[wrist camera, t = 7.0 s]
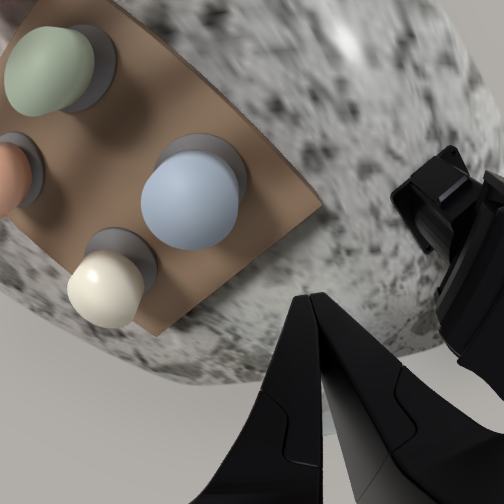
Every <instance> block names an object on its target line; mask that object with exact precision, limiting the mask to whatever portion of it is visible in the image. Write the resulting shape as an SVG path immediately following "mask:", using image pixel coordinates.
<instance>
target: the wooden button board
mask: <svg viewBox="0 0 504 504" xmlns="http://www.w3.org/2000/svg"><path fill="white" fill-rule="evenodd" d="M46 26H48V27H58V28H65V29H72V30H76V31H78V32H80V33H82V34H83V35H84V36H85V37H86V38H87V39H88V40H89V42H90V44H91V46H92V49H93V52H94V71H93V75H92V78H91V81H90V83H89V85H88V87H87V89H86V91H85V92H84V93H83V95H82V96H81V97H80V98H79V99H78V100H77V101H76V102H74V103H73V104H72V105H70V106H68V107H66V108H63V109H60V110H57V111H53V112H50V113H47V114H44V115H41V116H36V117H30V116H25V115H23V114H21V113H19V112H18V111H16V110H15V109H14V108H13V106H12V105H11V104H10V102H9V100H8V98H7V95H6V92H5V86H4V74H5V68H6V64H7V61H8V58H9V56H10V54H11V52H12V50H13V48H14V47H15V45H16V44H17V43H18V42H19V40H20V39H21V38H22V37H23V36H25V35H26V34H27V33H29V32H30V31H32V30H34V29H37V28H40V27H46ZM1 142H11V143H14V144H15V145H17V146H18V147H19V148H20V149H21V150H22V151H23V152H24V154H25V155H26V157H27V159H28V161H29V164H30V167H31V172H32V186H31V190H30V193H29V195H28V197H27V198H26V200H25V201H24V202H23V203H21V204H20V205H19V206H18V207H16V208H15V209H14V210H13V211H11V212H10V213H9V214H8V215H7V216H6V217H7V218H9V219H10V220H11V221H12V222H13V223H14V224H15V225H16V226H17V227H18V228H19V229H20V230H21V231H22V232H23V233H24V234H25V235H26V236H28V237H29V238H30V239H31V240H32V241H33V242H34V243H35V244H36V245H38V246H39V247H40V248H41V249H42V250H43V251H44V252H45V253H47V254H48V255H49V256H50V257H51V258H52V259H54V260H55V261H56V262H57V263H58V264H59V265H61V266H62V267H63V268H64V269H65V270H67V271H68V272H69V273H70V274H72V275H73V273H74V272H75V271H76V269H77V268H78V266H79V265H80V263H81V262H82V260H83V259H84V258H85V257H86V256H87V255H88V254H89V253H91V252H93V251H97V250H110V251H114V252H117V253H119V254H121V255H123V256H125V257H126V258H128V259H129V260H130V261H131V262H133V263H134V265H135V266H136V267H137V268H138V270H139V271H140V273H141V275H142V277H143V281H144V292H143V295H142V298H141V300H140V303H139V306H138V308H137V311H136V314H135V316H134V319H133V320H132V321H134V322H135V323H136V324H138V325H139V326H141V327H142V328H144V329H145V330H147V331H148V332H150V333H151V334H153V335H154V336H156V337H157V336H158V335H160V334H161V333H162V332H163V331H165V330H166V329H167V328H169V327H170V326H171V325H172V324H174V323H175V322H176V321H177V320H179V319H180V318H181V317H182V316H184V315H185V314H186V313H188V312H189V311H190V310H191V309H193V308H194V307H195V306H196V305H198V304H199V303H200V302H201V301H203V300H204V299H205V298H206V297H208V296H209V295H210V294H212V293H213V292H214V291H215V290H217V289H218V288H219V287H220V286H222V285H223V284H224V283H225V282H227V281H228V280H229V279H230V278H232V277H233V276H234V275H235V274H237V273H238V272H239V271H240V270H242V269H243V268H244V267H245V266H247V265H248V264H249V263H250V262H252V261H253V260H254V259H255V258H257V257H258V256H259V255H260V254H262V253H263V252H264V251H265V250H267V249H268V248H269V247H270V246H272V245H273V244H274V243H275V242H277V241H278V240H279V239H280V238H282V237H283V236H284V235H285V234H287V233H288V232H289V231H290V230H292V229H293V228H294V227H295V226H297V225H298V224H299V223H300V222H302V221H303V220H304V219H305V218H307V217H308V216H309V215H310V214H312V213H313V212H314V211H315V210H317V209H318V208H319V207H320V206H322V205H323V204H322V202H321V201H320V199H319V197H318V195H317V193H316V192H315V190H314V189H313V188H312V186H311V185H310V184H309V183H308V182H307V181H306V180H305V179H304V177H303V176H302V175H301V174H300V173H299V172H298V171H297V170H296V169H295V168H294V166H293V165H292V164H291V163H290V162H289V161H288V160H287V159H286V158H285V157H284V156H283V155H282V154H281V152H280V151H279V150H278V149H277V148H276V147H275V146H274V145H273V144H272V143H271V142H270V141H269V140H268V139H267V138H266V137H265V136H264V135H263V134H262V133H261V132H260V131H259V130H258V129H257V128H256V126H255V125H254V124H253V123H252V122H251V121H250V120H249V119H248V118H247V117H246V116H245V115H244V114H243V113H242V112H241V111H240V110H238V109H237V108H236V107H235V106H234V105H233V104H232V103H231V102H230V101H229V100H228V99H227V98H226V97H225V96H224V95H223V94H222V93H221V92H220V91H219V90H218V89H217V88H216V87H215V86H213V85H212V84H211V83H210V82H209V81H208V80H207V79H206V78H205V77H204V76H203V75H202V74H200V73H199V72H198V71H197V70H196V69H195V68H194V67H193V66H192V65H191V64H189V63H188V62H187V61H186V60H185V59H184V58H183V57H182V56H180V55H179V54H178V53H177V52H176V51H175V50H173V49H172V48H171V47H170V46H169V45H168V44H166V43H165V42H164V41H163V40H162V39H161V38H159V37H158V36H157V35H156V34H155V33H153V32H152V31H151V30H150V29H148V28H147V27H146V26H145V25H144V24H142V23H141V22H140V21H139V20H137V19H136V18H135V17H134V16H132V15H131V14H130V13H128V12H127V11H126V10H125V9H123V8H122V7H121V6H119V5H118V4H117V3H115V2H114V1H113V0H37V2H36V3H35V4H34V6H33V7H32V9H31V10H30V11H29V13H28V14H27V16H26V17H25V19H24V20H23V22H22V23H21V25H20V26H19V28H18V29H17V31H16V33H15V34H14V36H13V37H12V39H11V41H10V42H9V44H8V46H7V47H6V49H5V51H4V53H3V54H2V56H1V58H0V143H1ZM187 149H201V150H206V151H209V152H212V153H214V154H216V155H218V156H219V157H221V158H222V159H223V160H224V161H226V162H227V164H228V165H229V166H230V167H231V169H232V170H233V172H234V174H235V176H236V178H237V181H238V186H239V199H238V215H237V219H236V222H235V224H234V226H233V228H232V230H231V231H230V233H229V234H228V235H227V236H226V237H225V238H224V239H223V240H222V241H221V242H219V243H218V244H216V245H214V246H212V247H209V248H206V249H202V250H193V251H190V250H182V249H177V248H174V247H172V246H169V245H167V244H166V243H164V242H162V241H161V240H160V239H158V238H157V237H156V236H155V235H154V234H153V233H152V232H151V230H150V229H149V228H148V226H147V224H146V222H145V220H144V218H143V215H142V210H141V196H142V191H143V188H144V186H145V184H146V182H147V180H148V179H149V178H150V176H151V175H152V174H153V173H154V171H155V170H156V169H157V168H158V167H159V166H160V164H161V163H162V162H163V161H164V160H165V159H166V158H168V157H169V156H171V155H172V154H174V153H176V152H179V151H182V150H187Z"/></svg>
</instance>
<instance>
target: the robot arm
mask: <svg viewBox="0 0 504 504" xmlns="http://www.w3.org/2000/svg"><path fill="white" fill-rule="evenodd" d="M452 150H453V153H452V155H451V154H450V153H451V151H452ZM483 179H484V182H483V184H481V183H479V182H478V181H476V180H475V179H473V178H472V177H470V175H469V173H468V171H467V168H466V166H465V164H464V162H463V160H462V157H461V155H460V153H459V151H458V149H457V148H456V147H454V146H452V145H449V146H447V147H446V148H445V149H444V150H442V151H441V152H440V153H439V154H438V155H437V156H434V157H432V158H431V159H430V160H429V161H428V162H426V163H425V164H424V165H423V166H422V167H420V168H419V169H418V170H417V171H416V172H414V173H413V174H412V175H411V176H410V178H409V179H408V180H406V181H405V182H404V183H403V184H402V185H400V186H399V187H398V188H397V189H395V190H394V191H393V192H392V193H391V196H390V199H391V201H392V203H393V204H394V206H395V207H396V209H397V210H398V212H399V213H400V215H401V216H402V218H403V219H404V221H405V223H406V224H407V226H408V227H409V229H410V231H411V232H412V234H413V235H414V237H415V239H416V240H417V242H418V244H419V245H420V247H421V249H422V250H423V251H424V253H426V254H428V253H430V252H432V251H433V250H434V249H435V251H436V252H437V253H438V254H439V255H440V256H441V258H442V259H443V260H444V261H445V262H446V264H447V265H448V266H449V269H448V271H447V273H446V275H445V277H444V279H443V281H442V283H441V285H440V287H438V288H437V289H436V291H435V293H434V298H435V302H436V314H437V317H438V320H439V323H440V325H441V326H440V328H439V333H440V335H441V337H442V338H443V340H444V341H445V343H446V345H447V346H448V348H449V349H450V350H451V351H452V352H453V353H454V354H455V355H456V356H457V357H458V360H457V363H458V364H459V365H460V366H462V367H464V368H466V369H468V370H471V371H473V372H474V373H475V374H477V375H478V376H479V377H481V378H482V379H483V380H484V381H485V382H486V383H487V384H489V386H490V387H491V388H492V389H493V390H494V391H495V392H496V393H497V395H498V396H499V397H500V398H501V399H502V400H503V401H504V177H501V176H499V175H497V174H494V173H492V172H490V171H487V170H485V174H484V177H483ZM398 195H400V197H399V199H397V200H396V197H397V196H398ZM427 246H429V247H428V248H426V247H427ZM321 381H322V384H323V388H324V391H325V394H326V398H327V401H328V405H329V408H330V411H331V415H332V418H333V422H334V425H335V429H336V432H337V436H338V439H339V443H340V446H341V450H342V453H343V457H344V460H345V464H346V468H347V471H348V475H349V479H350V482H351V486H352V490H353V493H354V497H355V501H356V503H357V504H504V434H501V433H497V432H494V431H491V430H489V429H486V428H485V427H483V426H481V425H479V424H478V423H477V422H475V421H474V420H472V419H471V418H470V417H468V416H467V415H466V414H464V413H463V412H461V411H460V410H459V409H457V408H456V407H454V406H453V405H452V404H450V403H449V402H448V401H446V400H445V399H444V398H442V397H441V396H440V395H438V394H437V393H436V392H435V391H433V390H432V389H430V388H429V387H428V386H427V385H426V384H425V383H423V382H422V381H421V380H420V379H419V378H418V377H416V376H415V375H414V374H413V373H412V372H411V371H410V370H409V369H408V368H407V367H406V366H404V365H403V366H402V363H401V362H400V361H399V360H398V359H397V358H396V357H395V356H394V355H393V354H392V353H390V352H389V351H388V350H387V349H386V348H385V347H384V346H383V345H382V344H381V343H380V342H379V341H377V340H376V339H375V338H374V337H373V336H372V335H371V334H370V333H369V332H368V331H367V330H365V329H364V328H363V327H362V326H361V325H360V324H359V323H358V322H357V321H356V320H355V319H353V318H352V317H351V316H350V315H349V314H348V313H347V312H346V311H345V310H344V309H342V308H341V307H340V306H339V305H338V304H337V303H336V302H335V301H334V300H332V299H331V298H330V297H329V296H328V295H327V294H326V293H324V292H320V293H313V294H310V296H309V295H299V296H295V297H294V298H293V300H292V303H291V306H290V308H289V311H288V314H287V317H286V320H285V323H284V326H283V328H282V331H281V334H280V337H279V340H278V342H277V345H276V348H275V351H274V354H273V356H272V359H271V362H270V364H269V367H268V370H267V372H266V375H265V378H264V380H263V383H262V386H261V388H260V389H261V390H260V391H259V393H258V396H257V398H256V401H255V403H254V405H253V408H252V410H251V412H250V415H249V417H248V419H247V421H246V423H245V425H244V427H243V428H242V430H241V432H240V434H239V436H238V437H237V439H236V441H235V443H234V444H233V446H232V447H231V449H230V451H229V452H228V454H227V455H226V457H225V459H224V460H223V462H222V463H221V465H220V467H219V468H218V470H217V471H216V473H215V474H214V476H213V477H212V479H211V481H210V482H209V483H208V485H207V486H206V487H205V488H204V490H203V491H202V492H201V493H200V494H199V495H198V496H197V497H196V498H195V499H194V500H193V501H191V502H190V503H189V504H323V470H322V469H323V421H322V386H321Z"/></svg>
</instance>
